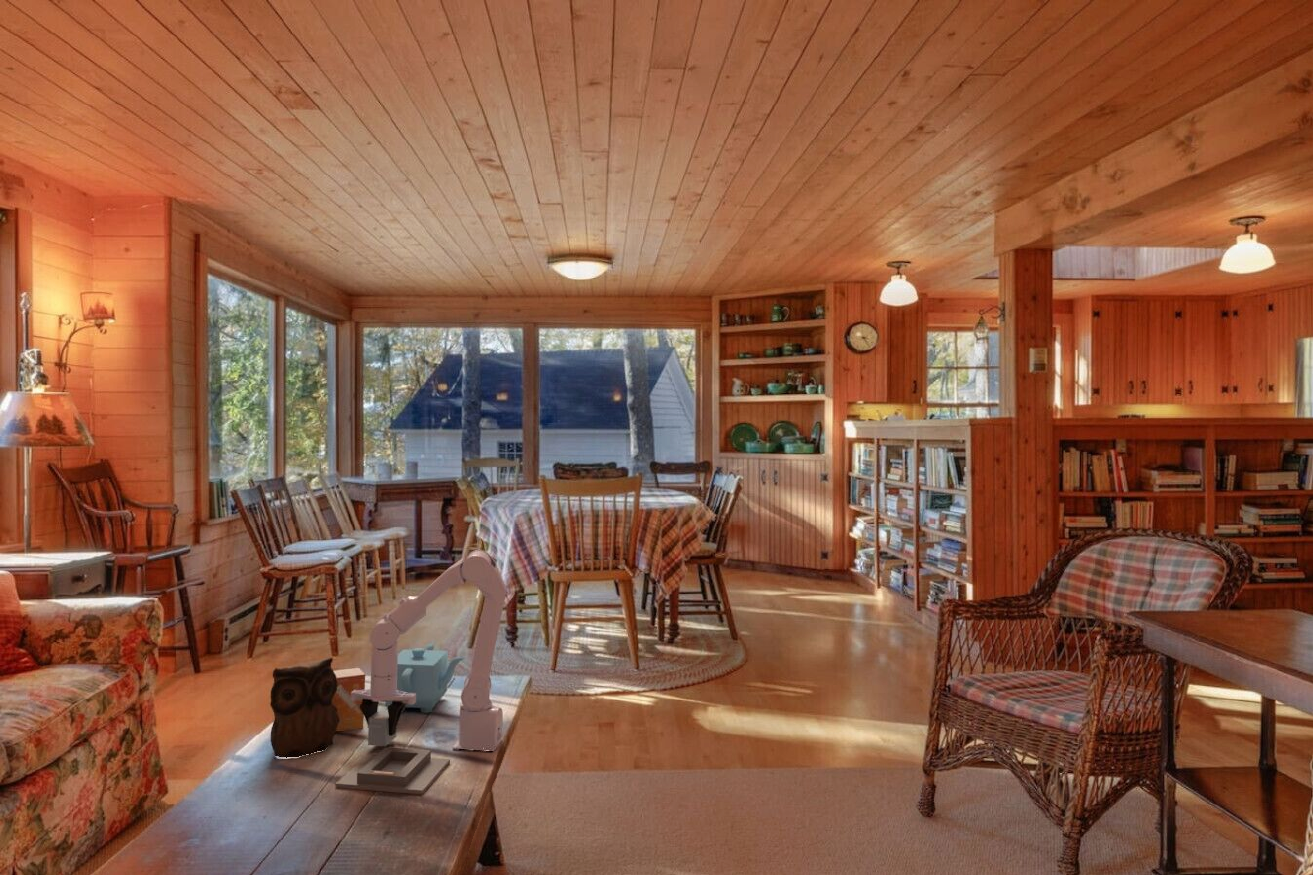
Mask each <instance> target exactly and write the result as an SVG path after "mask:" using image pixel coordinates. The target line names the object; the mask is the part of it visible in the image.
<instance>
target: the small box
mask: <svg viewBox="0 0 1313 875" xmlns="http://www.w3.org/2000/svg"><path fill="white" fill-rule="evenodd" d="M333 671H334V673H335V675H336V680H337V691H336V693H335V694H334V696H333V698H332V702H333V704H334V705H335V707H336V708H337V714H338V715H339V719H340V721H339V723H338V725H337V729H336V733H337V732H341V731H348V730H356V729H363V728H364V719H365V716H364V714H363V713H362V711H361V709H360V705H361V704H362V700H356V701H351V692H352V691H354V690H366V689H365V688H366V674H365V673H364V671H363V670H361V669H360V667H355V668H346V669H345V668H344V669H343V668H342V669H338V670H333Z"/></svg>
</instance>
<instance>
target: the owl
mask: <svg viewBox="0 0 1313 875" xmlns="http://www.w3.org/2000/svg"><path fill="white" fill-rule="evenodd" d="M332 663H333V657H328V658H324V659H318V660H312V661H311V660H310V661H306V662H303V663H302V662H300V663H296V664H293V665H289V666H288V665H287V666H286V667H282V668H277V667H275V668H274V670H273V671H272V678H273V684H272V687H271V690H270V703H269V704H270V707H271V709H272V712H273V716H274V721H273V723H272V726H271V730H270V744H271V746H272V750H273V754H274V755H275V756H279V757H286V758H287V757H299V756H302V755H306V754H309V756H311V755H310V754H311V753H314V752H317V751H322V750H324V751H326V750H327V749H328V748H329V747H331V746H332V745H334V737H335V735H336V733H337V732H336V729H337V725H338V723H339V721H340V719H339V715H338V714H337V708H336V707H335V705H334V704H333V702H332V698H333V696H334V694H335V693H336V691H337V680H336V675H335V673H334V671H335V670H333V668H332ZM328 746H329V747H328ZM327 747H328V748H327ZM326 748H327V749H326ZM325 749H326V750H325ZM322 752H323V751H322ZM314 754H315V753H314ZM274 755H273V756H274Z"/></svg>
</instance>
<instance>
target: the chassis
mask: <svg viewBox="0 0 1313 875" xmlns="http://www.w3.org/2000/svg"><path fill="white" fill-rule="evenodd" d="M431 756H432V750H431V749H418V748H404V747H390V746H385V747H384V749H382V750H381V751H380V752H379V753H374V752H370V753H368V755H366V756H365V757H364V758H363V759H361V761H359V762H358V763H357V764H356V765H355V766H354V767H353V768H351V769H350V770H349V771H348V772H347V773H345V774H344V775H343V776H342V777H341V778H340V779H339V780H338V781H337V782H336V783H335V788H336V787H338V789H348V788H350V789H349V790H361V791H363V790H364V791H375V792H376V791H377V792H387V793H398V794H399V793H400V794H411V795H423V794H424V793H425V792H426V791H427V790H428V789H427V788H430V786H431V785H432V784H433V783H434V782H433V781H435V780H437V779H438V777H439V776H440V775H441V774H442V773H443V771H444V770H445V769H446V768H447V767H448V766H449V765H450V764H451V758H439V757H431ZM448 764H449V765H448ZM447 765H448V766H447ZM446 766H447V767H446ZM445 767H446V768H445ZM444 768H445V769H444ZM441 772H442V773H441ZM426 789H427V790H426ZM425 790H426V791H425Z"/></svg>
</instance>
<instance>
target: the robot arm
mask: <svg viewBox="0 0 1313 875" xmlns="http://www.w3.org/2000/svg"><path fill="white" fill-rule="evenodd" d="M466 582H468V583H470V584H471V585H473V586H475V587H476V588H477V589H478V590H479V591H480V592H481V594H482V595H483V596H484V603H483V607H482V613H481V618H480V622H479V627H478V632H477V636H476V642H475V647H474V651H473V657H472V663H471V667H470V672H469V674H468V675H467V676H466V678H465V680H464V682H463V689H462V691H461V695H460V699H461V700H460V701H461V702H460V703H459V729H458V730H459V732H458V733H459V734H458V740H457V742H455V744H454V745H453V746H452V749H453V750H459V749H473V750H489V751H493V752H495V750H496V749H497V748H498V747H499V746H500V744H501V743H502V741H503V739H504V738H503V718H504V717H503V708H502V707H500V706H499V707H498V706H495V705H493V702H492V701H493V700H491V699H490V692H491V690H492V680H491V669H492V665H493V659H494V655H495V654H494V653H495V649H496V644H497V640H498V634H499V630H500V625H501V624H500V623H501V620H502V619H501V618H502V613H503V609H504V604H505V600H506V596H507V595H506V593H507V586H506V584H505V582H504V579H503V577H502V575H501V572H500V571H499V567H498V564H497V562H496V560H495V559H494V558H493V557H492V556H491V555H490V554H489V553H488V552H487V551H486V550H485V551H484V550H483V549H476V550H472V551H470V552H469V553H468V554H467V555H466V557H463V558H461V559H459V560H458V561H456V562H455V563H453V565H450V567H448V568H447V569H446V570H445V571H444V572H443V573H441V574H440V576H438V577H437V578H436V579H435V580H434V581H433V582H432V583H431V584H429V586H427V588H425V589H424V590H423V591H422V592H421V593H419V595H414V596H413V595H409V596H407V597H406V598H405V597H403V598H401V599H400V600H399V601H398V603H399V604H398V605H397V606H395V608H393V609H392V610H391V611H390V612H389V613H385V614H384V615H382V619H381V620H379V621H378V622H377V623H376V624H375V625H374V627H373V628H372V629H371V631H370V633H369V640H370V643H371V644H372V645H371V653H370V654H371V655H370V689H365V690H354V691H352V692H351V701H356V700H362V704H361V705H360V709H361V711H362V713H363V714H364V719H365V721H366V726H368V724H369V718H370V717H371V716H372V715H374V714H375V713H376V712H378V711H379V710H378V709H379V703H385V702H392V704H391V705H389V706H388V707H387V706H386V707H387V709H386V710H388V714H389V736H393V735H394V734H395V733H396V734H397V731H396V728H397V727H398V723H399V720H400V718H401V715H402V713H403V711H404V710H403V709H404V707H405V705H406V703H408V704H409V705H413V704H414V703H415V702H416V694H414V693H407V692H403V691H398V690H397V663H398V654H399V653H398V639H399V638H400V636H401V635H404V634H405V633H407V632H408V631H409V630H410V629H411V628H412V627H414V626H415V625H416V624H417V623H418V622H420V621H421V620H422V619H423V618H425V616H426V615H427V607H428V606H429V605H430V604H432V603H433V602H434V601H436V600H437V599H438V598H439V597H440V596H442V595H443V594H444V593H446V591H448V590H450V588H451V587H453V586H459V585H465V584H466ZM405 708H406V707H405ZM368 729H369V728H368V727H367V730H368ZM397 729H398V728H397ZM483 748H484V749H483ZM473 750H472V751H473Z"/></svg>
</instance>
